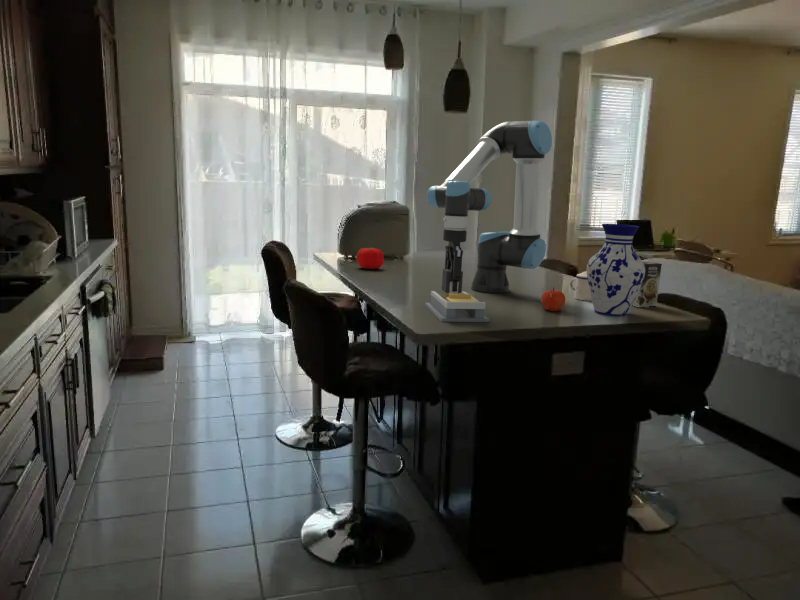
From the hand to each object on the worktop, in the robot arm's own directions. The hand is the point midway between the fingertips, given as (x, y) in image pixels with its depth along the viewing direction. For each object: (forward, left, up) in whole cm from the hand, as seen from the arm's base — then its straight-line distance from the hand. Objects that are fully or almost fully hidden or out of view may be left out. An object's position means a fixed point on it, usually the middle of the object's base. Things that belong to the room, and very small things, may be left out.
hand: (450, 299), depth 213 cm
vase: (-56, +3, -4) cm, 56 cm away
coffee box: (-75, -10, -4) cm, 76 cm away
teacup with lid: (-58, -23, -4) cm, 63 cm away
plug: (0, 0, 0) cm, 0 cm away
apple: (-36, 0, -4) cm, 36 cm away
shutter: (0, +14, +1) cm, 14 cm away
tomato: (+16, -91, -4) cm, 92 cm away
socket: (0, +7, -3) cm, 8 cm away
